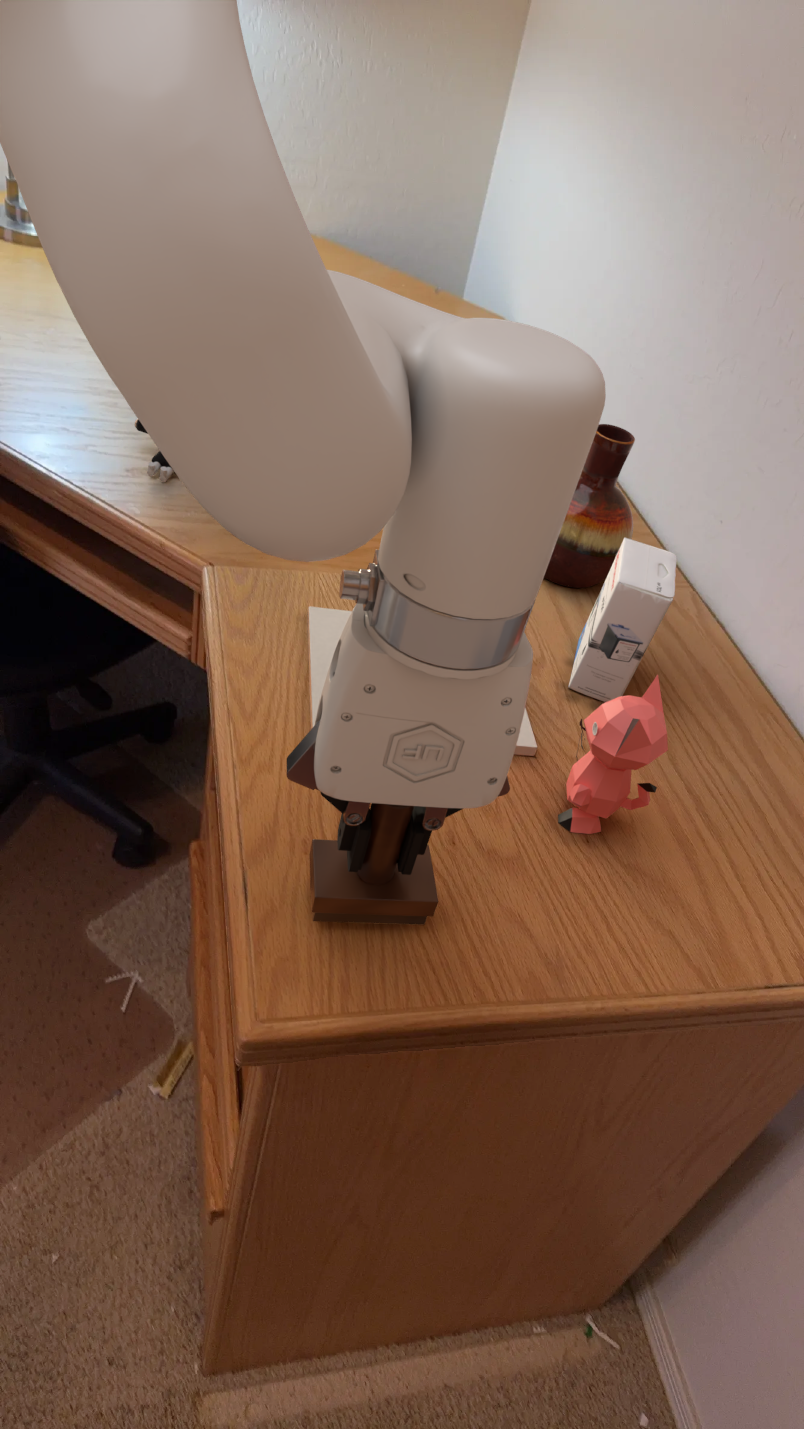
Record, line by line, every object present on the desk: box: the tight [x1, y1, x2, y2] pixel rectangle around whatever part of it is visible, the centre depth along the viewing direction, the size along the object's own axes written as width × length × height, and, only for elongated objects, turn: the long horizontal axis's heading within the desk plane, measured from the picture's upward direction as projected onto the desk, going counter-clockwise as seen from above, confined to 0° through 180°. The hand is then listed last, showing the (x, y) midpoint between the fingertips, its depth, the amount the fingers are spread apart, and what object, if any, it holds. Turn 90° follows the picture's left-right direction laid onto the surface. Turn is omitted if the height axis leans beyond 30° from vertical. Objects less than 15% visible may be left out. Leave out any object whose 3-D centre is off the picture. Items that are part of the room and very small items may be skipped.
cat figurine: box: [557, 674, 669, 835], centre depth 63 cm, size 7×7×12 cm
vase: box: [543, 423, 636, 589], centre depth 90 cm, size 11×11×15 cm
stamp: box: [308, 803, 440, 926], centre depth 52 cm, size 8×4×10 cm, turn 96°
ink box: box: [568, 538, 678, 703], centre depth 77 cm, size 9×5×12 cm, turn 164°
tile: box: [306, 605, 538, 757], centre depth 74 cm, size 18×16×1 cm
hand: (377, 853), depth 53 cm, fingers closed on stamp, 2 cm apart
